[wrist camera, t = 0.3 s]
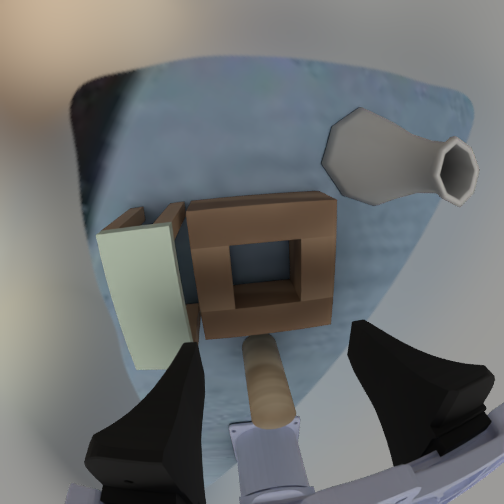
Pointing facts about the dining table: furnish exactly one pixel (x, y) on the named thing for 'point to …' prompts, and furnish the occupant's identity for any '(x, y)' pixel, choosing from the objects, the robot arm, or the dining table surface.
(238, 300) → the socket
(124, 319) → the bench
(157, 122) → the dining table surface
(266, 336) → the peg
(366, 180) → the flask
